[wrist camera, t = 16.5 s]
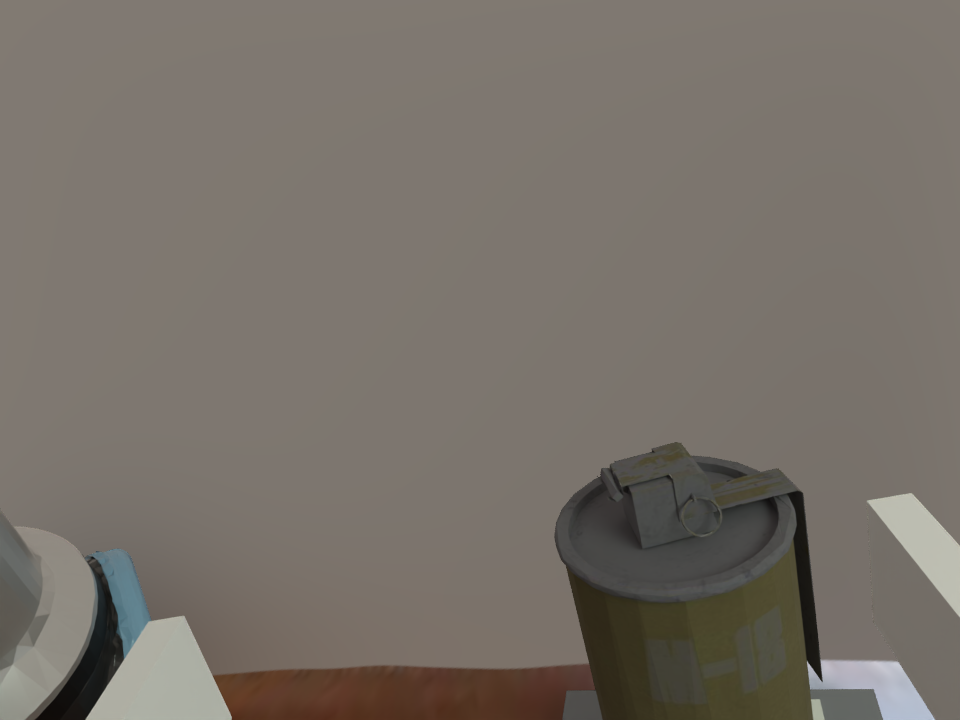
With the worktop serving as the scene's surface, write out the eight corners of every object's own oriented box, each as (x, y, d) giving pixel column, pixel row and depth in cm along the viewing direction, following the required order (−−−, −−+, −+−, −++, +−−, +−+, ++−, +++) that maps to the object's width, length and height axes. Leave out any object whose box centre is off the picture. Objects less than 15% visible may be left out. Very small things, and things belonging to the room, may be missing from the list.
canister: (652, 920, 34) (567, 564, 28) (598, 738, 44) (526, 441, 37) (881, 861, 34) (853, 490, 28) (777, 691, 44) (737, 387, 37)
